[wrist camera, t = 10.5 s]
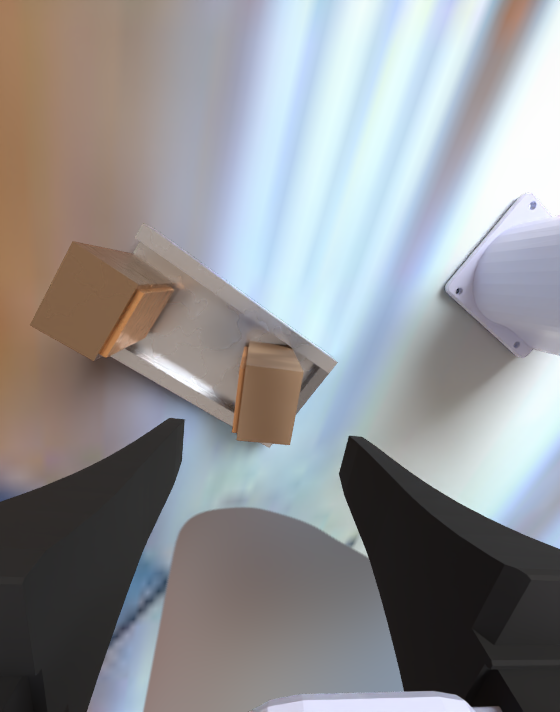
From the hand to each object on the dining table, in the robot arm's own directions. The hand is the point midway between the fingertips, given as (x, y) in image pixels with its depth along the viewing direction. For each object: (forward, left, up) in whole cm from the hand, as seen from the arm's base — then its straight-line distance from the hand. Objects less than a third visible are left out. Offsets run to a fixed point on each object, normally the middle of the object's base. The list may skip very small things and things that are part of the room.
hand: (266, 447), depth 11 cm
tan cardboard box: (0, 0, -8) cm, 8 cm away
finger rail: (+4, 0, -9) cm, 10 cm away
